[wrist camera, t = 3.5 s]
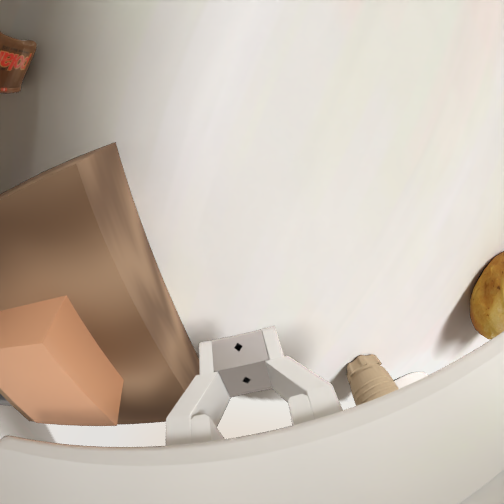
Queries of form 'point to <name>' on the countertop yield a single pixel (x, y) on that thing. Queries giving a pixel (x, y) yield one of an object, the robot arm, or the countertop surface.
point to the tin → (14, 62)
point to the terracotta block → (56, 366)
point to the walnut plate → (98, 276)
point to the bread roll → (489, 299)
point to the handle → (368, 379)
